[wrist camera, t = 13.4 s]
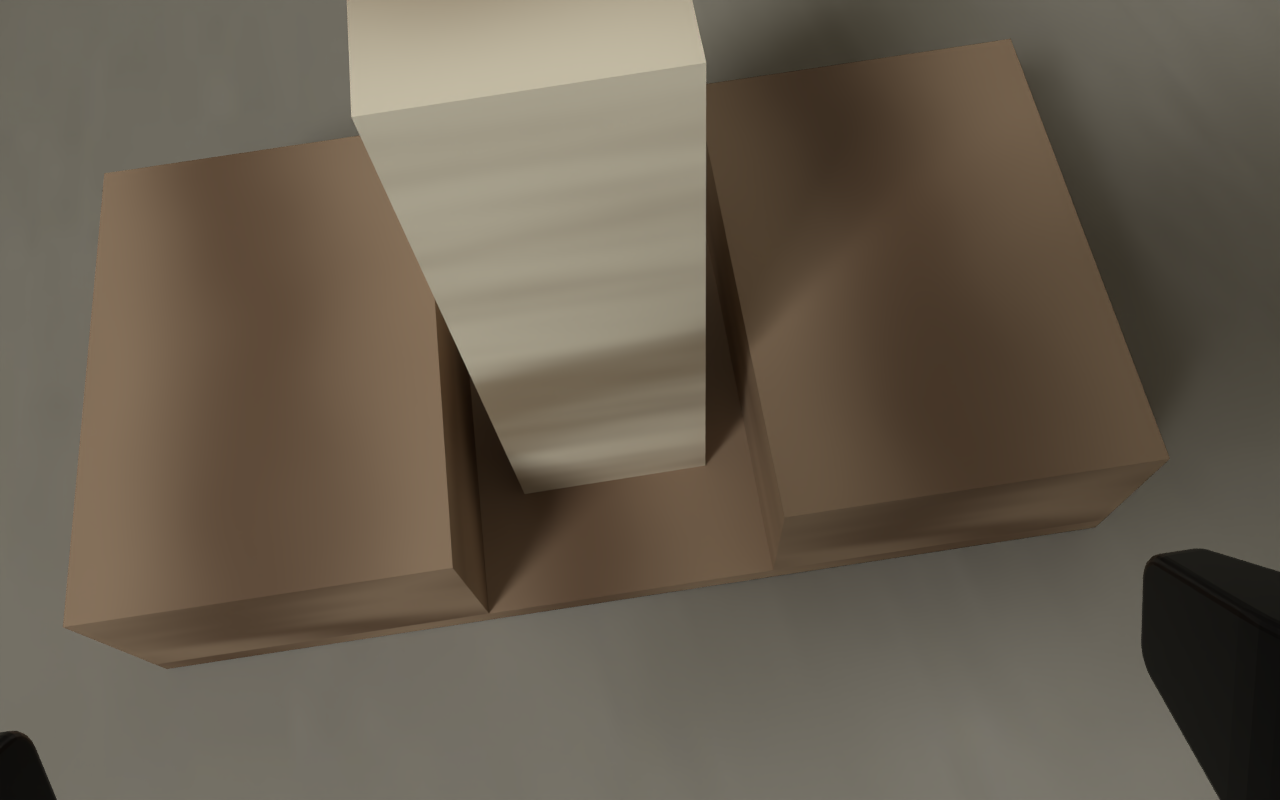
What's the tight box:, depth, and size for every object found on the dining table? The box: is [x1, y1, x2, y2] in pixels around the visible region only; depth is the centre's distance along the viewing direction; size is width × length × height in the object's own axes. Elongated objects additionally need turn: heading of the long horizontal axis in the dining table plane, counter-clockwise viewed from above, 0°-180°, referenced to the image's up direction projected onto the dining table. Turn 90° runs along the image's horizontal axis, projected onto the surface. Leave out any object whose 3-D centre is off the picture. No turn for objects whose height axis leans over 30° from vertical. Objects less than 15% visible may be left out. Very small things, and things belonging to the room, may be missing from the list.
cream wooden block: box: [347, 0, 706, 494], centre depth 19 cm, size 5×4×12 cm
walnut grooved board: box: [63, 39, 1170, 669], centre depth 23 cm, size 20×10×4 cm, turn 98°
